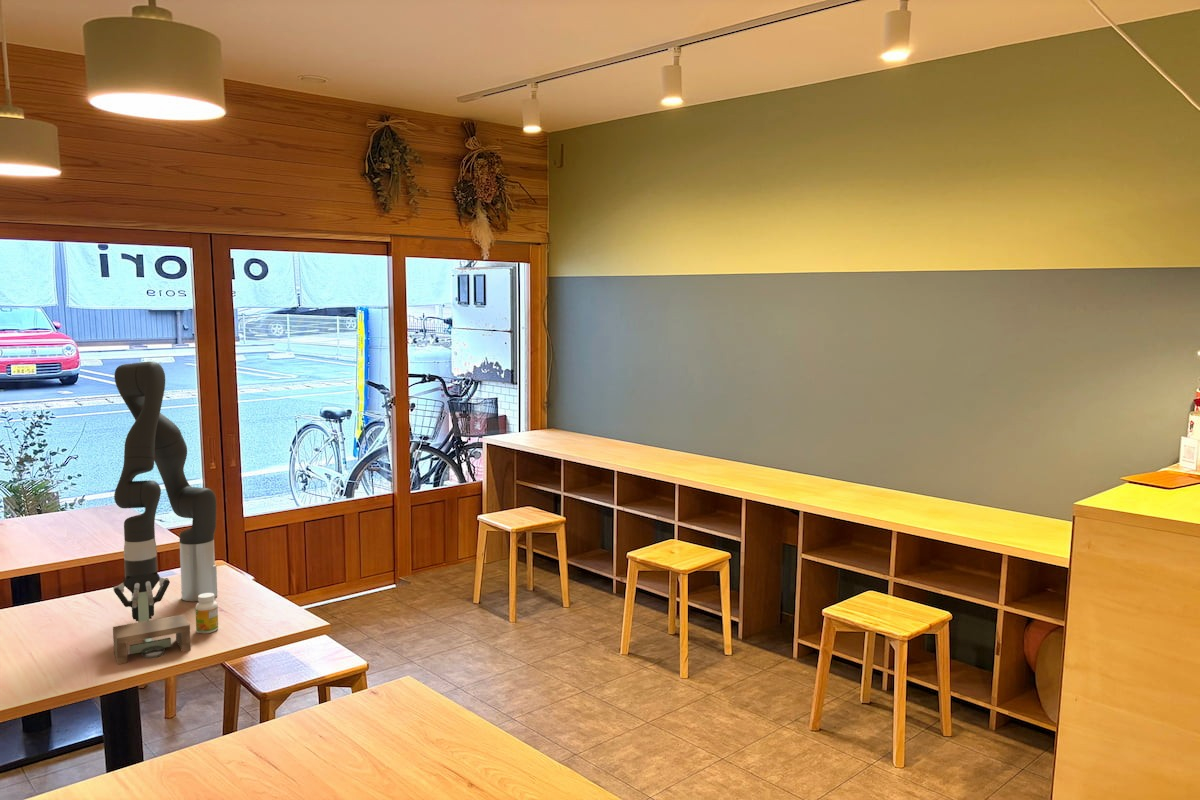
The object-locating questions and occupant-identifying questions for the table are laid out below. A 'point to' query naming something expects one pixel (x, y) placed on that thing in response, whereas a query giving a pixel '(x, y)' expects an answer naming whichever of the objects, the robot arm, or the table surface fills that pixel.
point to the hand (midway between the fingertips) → (143, 618)
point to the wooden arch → (150, 633)
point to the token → (153, 652)
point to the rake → (144, 616)
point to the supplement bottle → (206, 613)
